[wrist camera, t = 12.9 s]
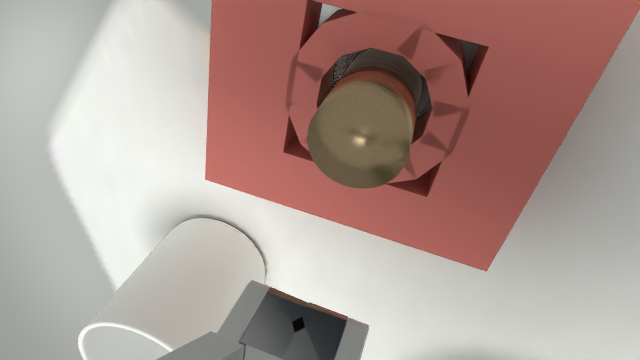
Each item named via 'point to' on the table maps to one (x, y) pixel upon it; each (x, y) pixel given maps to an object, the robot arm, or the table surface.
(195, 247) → the mug
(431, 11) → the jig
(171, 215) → the table surface
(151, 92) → the table surface
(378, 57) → the tan cylinder plug
